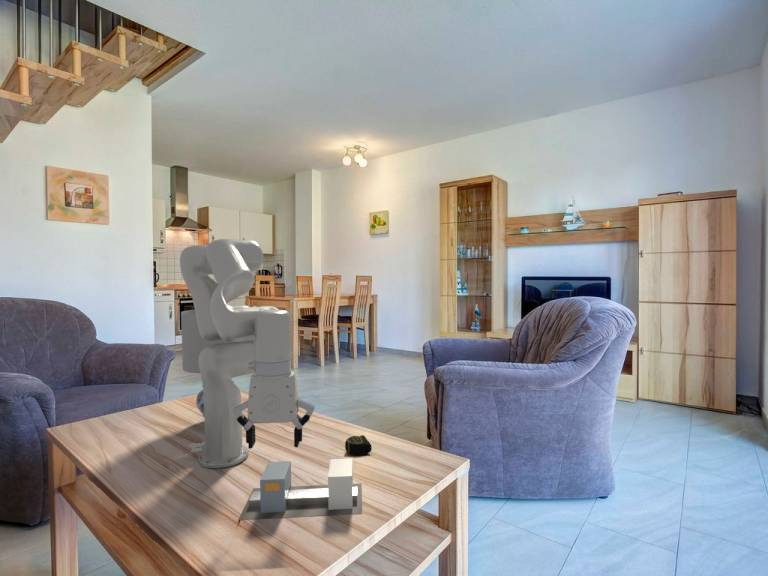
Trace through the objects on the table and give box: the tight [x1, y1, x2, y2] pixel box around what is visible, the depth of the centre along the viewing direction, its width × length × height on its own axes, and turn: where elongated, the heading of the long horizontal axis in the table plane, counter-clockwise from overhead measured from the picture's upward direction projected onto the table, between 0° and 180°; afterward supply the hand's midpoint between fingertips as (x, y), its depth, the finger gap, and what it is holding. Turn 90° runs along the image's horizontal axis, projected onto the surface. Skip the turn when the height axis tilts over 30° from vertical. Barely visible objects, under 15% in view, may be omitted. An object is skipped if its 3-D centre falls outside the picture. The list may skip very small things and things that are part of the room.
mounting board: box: [237, 482, 363, 525], centre depth 89 cm, size 25×12×1 cm, turn 94°
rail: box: [248, 487, 357, 507], centre depth 89 cm, size 23×4×2 cm, turn 94°
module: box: [259, 460, 292, 513], centre depth 88 cm, size 5×8×7 cm, turn 4°
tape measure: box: [344, 434, 372, 456], centre depth 114 cm, size 7×7×4 cm
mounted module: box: [327, 458, 354, 510], centre depth 89 cm, size 5×8×7 cm, turn 4°
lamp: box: [180, 309, 235, 424], centre depth 139 cm, size 22×22×38 cm
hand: (274, 445), depth 88 cm, fingers open, 9 cm apart
